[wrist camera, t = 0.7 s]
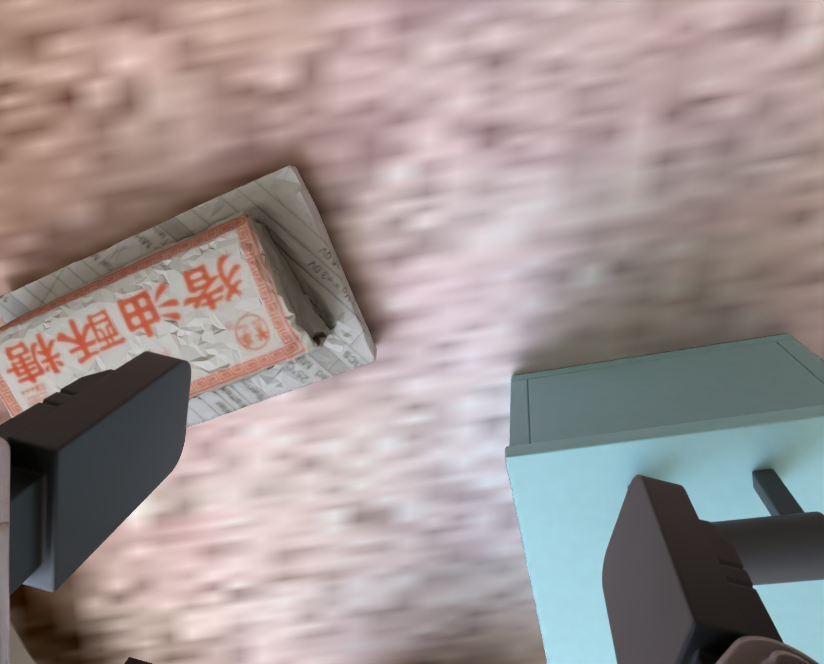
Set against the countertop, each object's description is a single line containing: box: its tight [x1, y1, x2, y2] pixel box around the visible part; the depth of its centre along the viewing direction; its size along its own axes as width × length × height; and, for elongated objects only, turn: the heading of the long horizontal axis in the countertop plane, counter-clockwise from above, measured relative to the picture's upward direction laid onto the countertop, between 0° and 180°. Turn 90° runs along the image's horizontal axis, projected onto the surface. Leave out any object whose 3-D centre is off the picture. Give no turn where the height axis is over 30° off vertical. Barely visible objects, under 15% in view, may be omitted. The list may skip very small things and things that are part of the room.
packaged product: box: [0, 165, 377, 427], centre depth 32 cm, size 18×5×10 cm
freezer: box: [510, 334, 824, 446], centre depth 29 cm, size 16×13×9 cm
